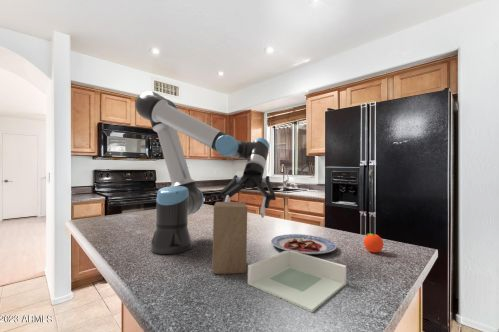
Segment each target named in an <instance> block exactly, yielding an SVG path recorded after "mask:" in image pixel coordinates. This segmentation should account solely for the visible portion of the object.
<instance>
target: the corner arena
mask: <svg viewBox="0 0 499 332" xmlns="http://www.w3.org/2000/svg"><path fill="white" fill-rule="evenodd" d="M247 285H249V286H252V287H254V288H255V289H258V290H261V291H263V292H265V293H267V294H269V295H271V294H272V295H271V296H274V297H276V296H277V297H276V298H278V297H279V298H278V299H280V298H282V299H281V300H283V301H285V302H287V301H288V302H287V303H289V302H290V304H292V305H294V306H295V307H298V306H299V308H301V309H304V310H305V311H308V312H310V313H313V312H315V311H316V310H317V309H318V308H319V307H321V306H322V305H323V304H324V303H325V302H327V301H328V300H329V299H330V298H331V297H333V296H334V295H335V294H337V292H338V291H340V290H341V289H342V288H343V287H345V286H346V285H347V265H345V264H342V263H337V262H334V261H330V260H327V259H322V258H319V257H316V256H312V255H310V254H302V253H298V252H294V251H291V250H282V251H280V252H277V253H276V254H274V255H271V256H268V257H267V258H263V259H261V260H258V261H256V262H254V263H251V264H248V265H247Z"/></svg>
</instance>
